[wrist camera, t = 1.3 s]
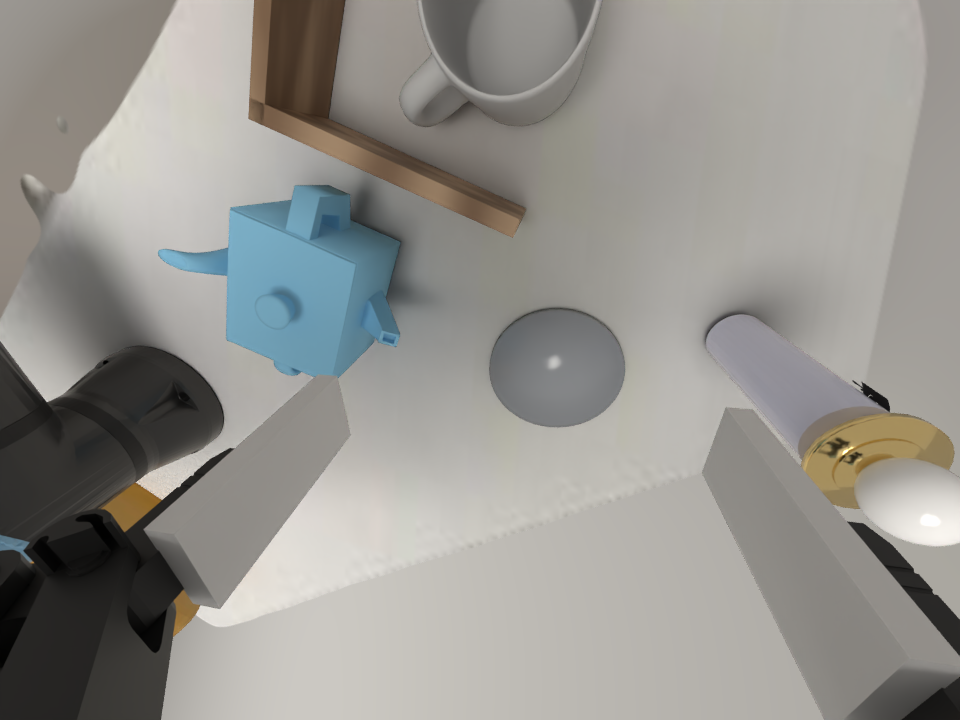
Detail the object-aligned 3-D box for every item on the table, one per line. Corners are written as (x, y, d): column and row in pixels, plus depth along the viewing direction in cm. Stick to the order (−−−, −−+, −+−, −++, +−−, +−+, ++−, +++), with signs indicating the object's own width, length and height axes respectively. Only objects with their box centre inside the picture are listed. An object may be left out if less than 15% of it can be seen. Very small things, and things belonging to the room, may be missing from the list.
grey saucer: (472, 393, 39) (470, 397, 38) (523, 285, 33) (522, 288, 32) (580, 439, 40) (581, 444, 39) (651, 343, 33) (653, 346, 33)
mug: (546, -68, 22) (546, -246, 13) (606, 73, 25) (643, 13, 15) (402, 72, 27) (323, 19, 17) (466, 179, 30) (428, 184, 20)
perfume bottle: (684, 358, 34) (834, 563, 16) (711, 299, 31) (926, 470, 13) (749, 369, 33) (977, 594, 16) (782, 310, 30) (1103, 503, 13)
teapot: (407, 368, 39) (360, 435, 29) (250, 301, 38) (148, 347, 29) (456, 225, 31) (414, 251, 22) (260, 138, 31) (125, 124, 21)
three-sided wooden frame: (314, 129, 30) (248, 118, 23) (356, -199, 21) (271, -362, 15) (520, 222, 30) (512, 237, 24) (640, -58, 22) (680, -154, 15)
